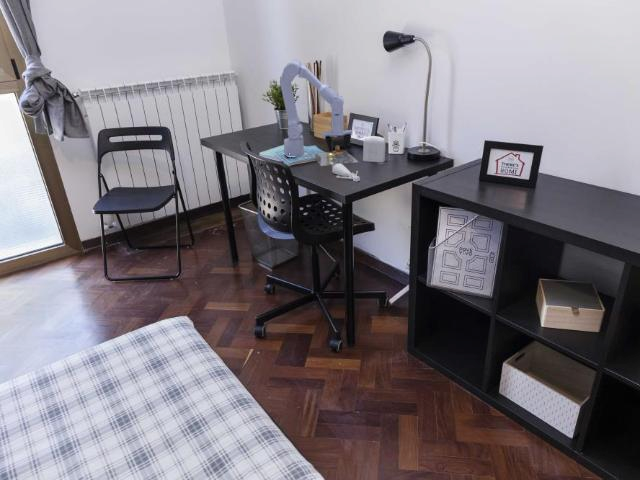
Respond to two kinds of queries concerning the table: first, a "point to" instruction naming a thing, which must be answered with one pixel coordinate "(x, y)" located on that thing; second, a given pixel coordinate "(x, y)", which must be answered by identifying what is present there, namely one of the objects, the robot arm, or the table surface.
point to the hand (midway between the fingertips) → (337, 150)
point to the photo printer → (374, 149)
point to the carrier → (333, 158)
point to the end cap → (338, 142)
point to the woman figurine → (344, 172)
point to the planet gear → (338, 150)
